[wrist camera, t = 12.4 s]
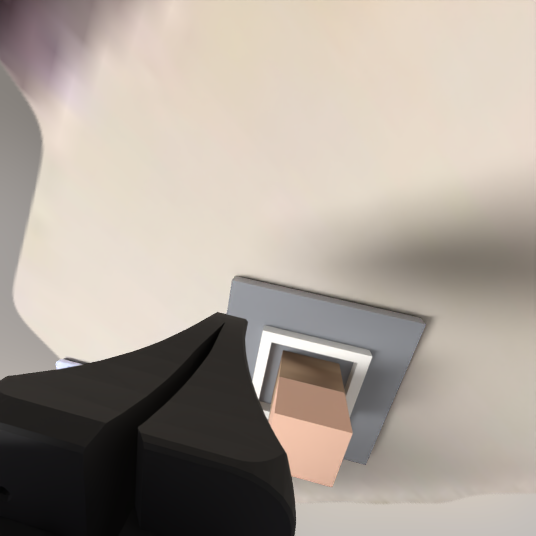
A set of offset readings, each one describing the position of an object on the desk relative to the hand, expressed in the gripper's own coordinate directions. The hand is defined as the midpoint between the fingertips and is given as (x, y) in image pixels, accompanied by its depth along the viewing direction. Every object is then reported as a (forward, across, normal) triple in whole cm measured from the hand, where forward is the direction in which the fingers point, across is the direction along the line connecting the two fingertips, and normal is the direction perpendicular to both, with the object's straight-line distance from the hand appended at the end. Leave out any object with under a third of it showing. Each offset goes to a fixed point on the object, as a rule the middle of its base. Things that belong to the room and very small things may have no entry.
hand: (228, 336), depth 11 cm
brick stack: (+8, -5, +8) cm, 13 cm away
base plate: (+9, -5, +8) cm, 13 cm away
